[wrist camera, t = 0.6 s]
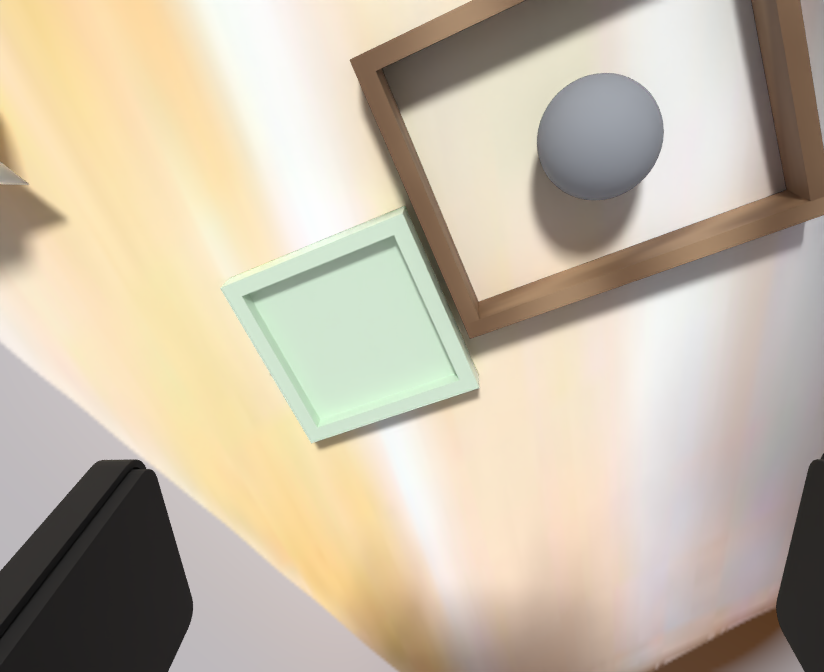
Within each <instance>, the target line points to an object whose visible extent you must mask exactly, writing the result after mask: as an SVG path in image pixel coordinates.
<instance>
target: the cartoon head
mask: <svg viewBox="0 0 824 672" xmlns="http://www.w3.org/2000/svg"><path fill="white" fill-rule="evenodd" d="M0 184H14V185H30V184H28V183H27V182H26V181H25V180H23V179H22V178H21V177H19V176H18V175H17V174H16V173H14V172H13V171H12V170H10V169H9V168H8V167H7V166H5V165H4V164H3V163H1V162H0Z"/></svg>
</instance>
